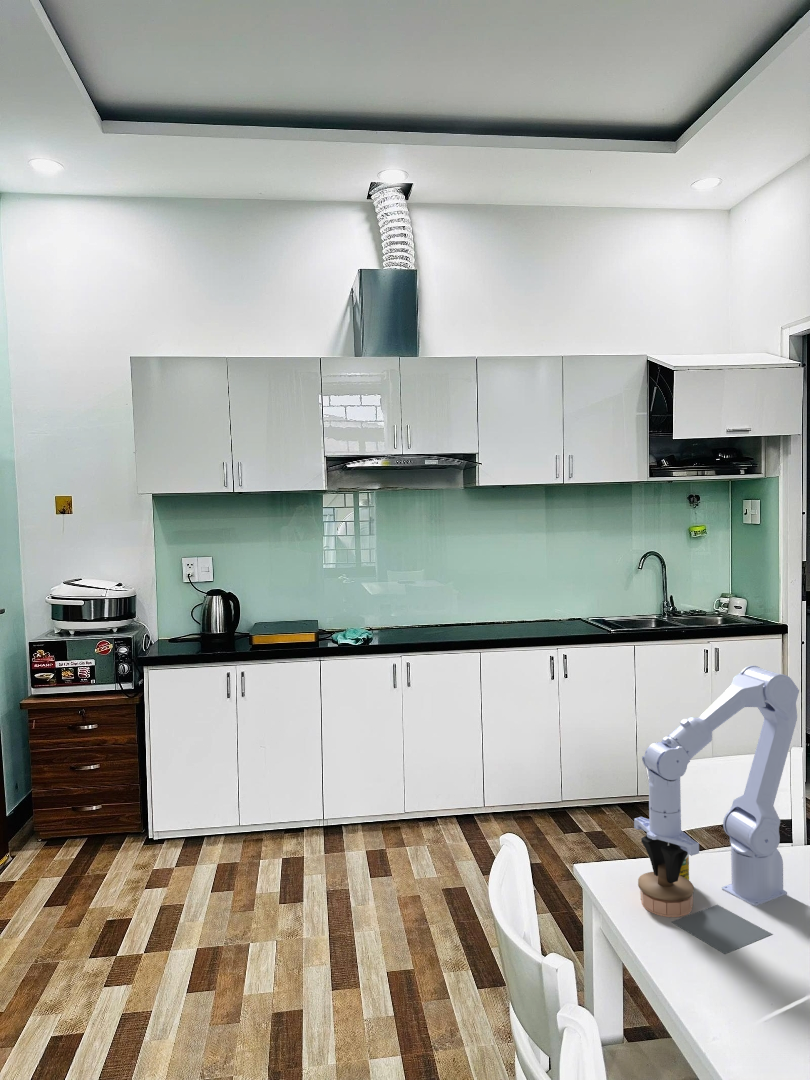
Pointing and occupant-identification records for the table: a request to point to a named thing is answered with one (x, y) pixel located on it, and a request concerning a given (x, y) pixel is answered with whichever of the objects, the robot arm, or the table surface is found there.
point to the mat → (721, 928)
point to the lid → (665, 886)
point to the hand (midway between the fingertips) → (666, 877)
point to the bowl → (667, 906)
